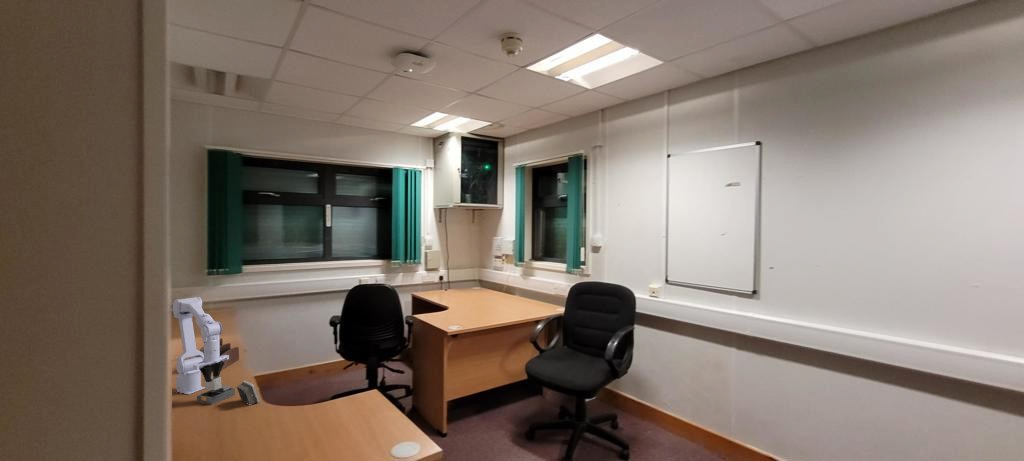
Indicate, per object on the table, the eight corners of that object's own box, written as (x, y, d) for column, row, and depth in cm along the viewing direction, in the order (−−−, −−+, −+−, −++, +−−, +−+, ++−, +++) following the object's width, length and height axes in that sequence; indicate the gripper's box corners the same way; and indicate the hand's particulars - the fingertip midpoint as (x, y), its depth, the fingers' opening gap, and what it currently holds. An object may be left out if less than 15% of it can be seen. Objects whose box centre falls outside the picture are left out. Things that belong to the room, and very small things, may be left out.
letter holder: (199, 372, 212) (199, 346, 212) (221, 360, 231) (220, 336, 231) (219, 372, 213) (219, 345, 213) (239, 359, 233) (239, 335, 233)
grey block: (204, 388, 178) (204, 377, 178) (211, 386, 180) (211, 375, 180) (214, 390, 176) (214, 379, 176) (221, 387, 179) (221, 376, 179)
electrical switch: (260, 402, 176) (258, 382, 175) (247, 408, 171) (245, 387, 171) (250, 397, 181) (247, 378, 180) (237, 403, 176) (235, 383, 176)
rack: (196, 402, 176) (196, 392, 176) (221, 392, 186) (220, 383, 186) (211, 404, 173) (210, 394, 173) (235, 394, 184) (234, 385, 184)
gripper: (201, 356, 170) (202, 387, 170) (233, 346, 184) (234, 375, 184) (189, 354, 172) (189, 385, 172) (222, 345, 186) (222, 373, 186)
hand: (212, 380), depth 178 cm, fingers closed on grey block, 3 cm apart
